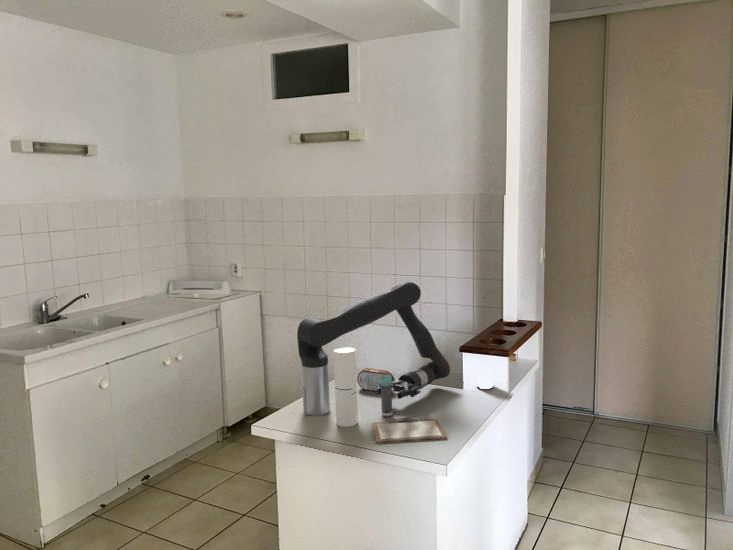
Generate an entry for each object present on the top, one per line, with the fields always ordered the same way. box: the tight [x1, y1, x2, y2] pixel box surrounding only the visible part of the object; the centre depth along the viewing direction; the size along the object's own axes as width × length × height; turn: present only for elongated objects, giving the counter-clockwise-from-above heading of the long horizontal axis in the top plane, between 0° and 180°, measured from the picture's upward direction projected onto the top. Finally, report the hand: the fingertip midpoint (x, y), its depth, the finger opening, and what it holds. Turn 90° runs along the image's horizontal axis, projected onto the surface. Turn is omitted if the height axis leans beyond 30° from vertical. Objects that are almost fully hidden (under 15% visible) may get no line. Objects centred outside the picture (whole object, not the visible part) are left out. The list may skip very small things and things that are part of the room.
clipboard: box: [371, 416, 448, 445], centre depth 194 cm, size 22×15×2 cm
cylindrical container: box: [333, 346, 359, 428], centre depth 202 cm, size 7×7×25 cm
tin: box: [356, 367, 396, 392], centre depth 234 cm, size 15×3×8 cm, turn 66°
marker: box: [380, 375, 393, 419], centre depth 208 cm, size 4×4×14 cm
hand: (388, 393), depth 208 cm, fingers open, 8 cm apart
